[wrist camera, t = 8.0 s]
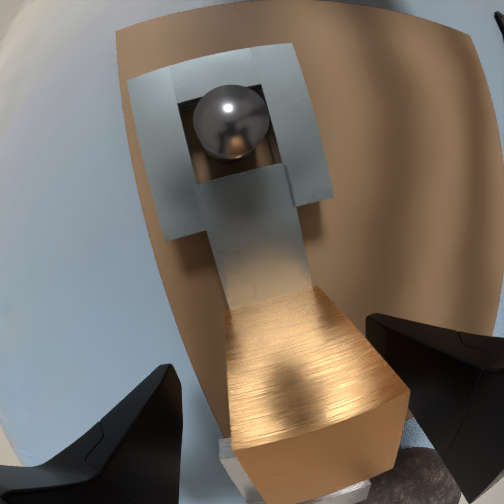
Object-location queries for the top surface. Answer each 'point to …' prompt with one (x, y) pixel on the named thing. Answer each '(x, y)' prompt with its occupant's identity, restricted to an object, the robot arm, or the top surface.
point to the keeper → (340, 500)
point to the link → (272, 283)
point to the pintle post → (230, 122)
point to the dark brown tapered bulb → (414, 480)
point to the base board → (348, 169)
